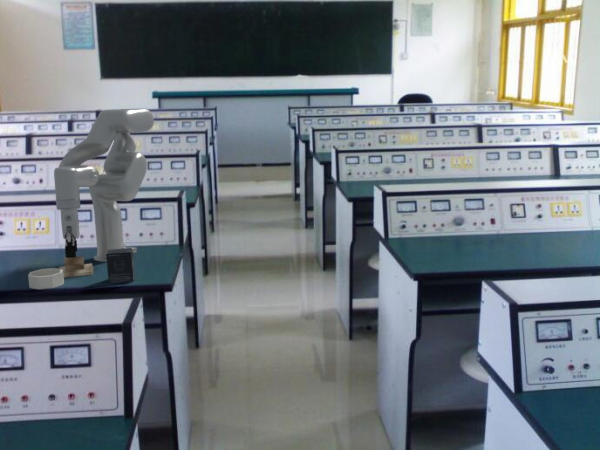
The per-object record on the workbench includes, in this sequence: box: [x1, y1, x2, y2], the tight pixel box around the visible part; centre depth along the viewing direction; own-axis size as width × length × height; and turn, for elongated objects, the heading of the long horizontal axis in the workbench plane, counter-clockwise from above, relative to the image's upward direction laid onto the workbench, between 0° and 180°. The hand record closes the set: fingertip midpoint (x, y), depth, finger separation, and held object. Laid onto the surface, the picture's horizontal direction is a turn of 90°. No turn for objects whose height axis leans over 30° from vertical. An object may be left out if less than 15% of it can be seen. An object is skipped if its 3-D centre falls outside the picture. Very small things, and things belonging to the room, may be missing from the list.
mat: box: [64, 265, 95, 279], centre depth 211 cm, size 12×12×1 cm
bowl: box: [27, 267, 65, 290], centre depth 197 cm, size 10×10×4 cm
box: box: [106, 248, 136, 284], centre depth 200 cm, size 8×6×11 cm
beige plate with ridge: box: [57, 255, 93, 278], centre depth 210 cm, size 11×11×5 cm
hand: (71, 254), depth 209 cm, fingers open, 9 cm apart
